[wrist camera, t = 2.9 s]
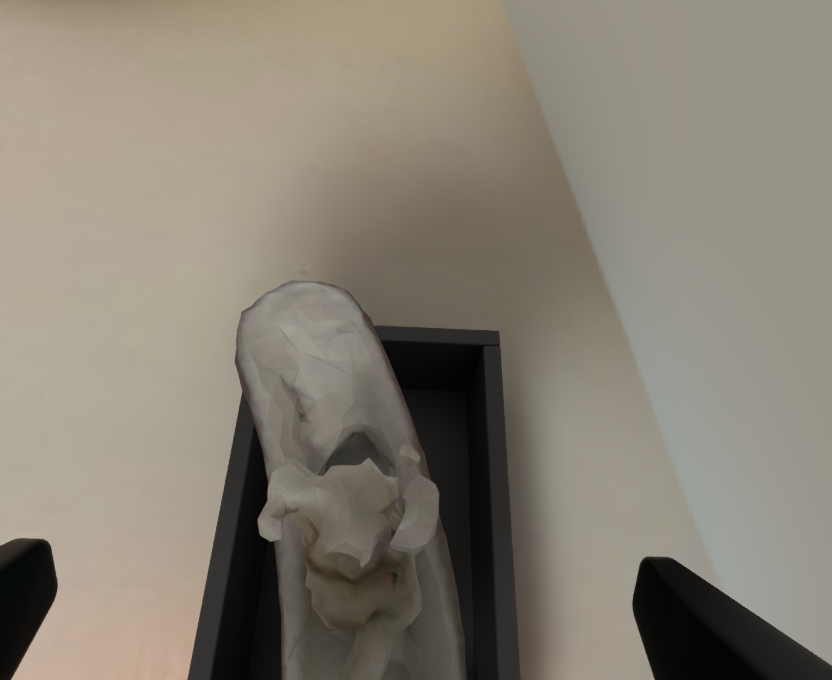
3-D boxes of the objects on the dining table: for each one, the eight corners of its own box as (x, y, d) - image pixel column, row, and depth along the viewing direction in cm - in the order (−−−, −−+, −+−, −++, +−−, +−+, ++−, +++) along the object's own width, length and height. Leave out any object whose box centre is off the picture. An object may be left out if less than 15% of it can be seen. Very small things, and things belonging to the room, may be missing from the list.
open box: (499, 890, 12) (539, 986, 9) (197, 888, 12) (128, 986, 9) (479, 381, 19) (499, 329, 15) (278, 373, 18) (255, 319, 15)
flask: (298, 438, 17) (191, 211, 8) (387, 420, 17) (392, 185, 8) (344, 798, 13) (237, 1287, 3) (459, 763, 13) (647, 1109, 4)
